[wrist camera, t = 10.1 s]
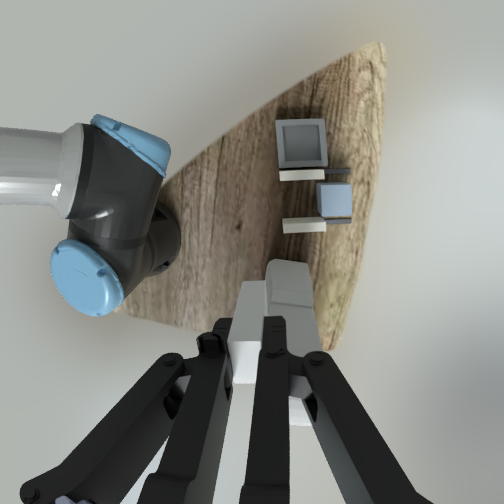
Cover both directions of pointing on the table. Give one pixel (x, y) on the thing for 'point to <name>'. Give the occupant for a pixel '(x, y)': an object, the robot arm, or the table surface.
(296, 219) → the channel
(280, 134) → the tray
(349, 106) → the table surface
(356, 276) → the table surface
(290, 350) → the electronic device
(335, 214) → the block
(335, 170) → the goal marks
